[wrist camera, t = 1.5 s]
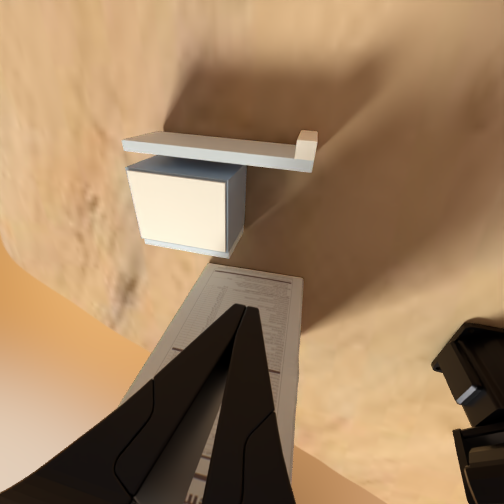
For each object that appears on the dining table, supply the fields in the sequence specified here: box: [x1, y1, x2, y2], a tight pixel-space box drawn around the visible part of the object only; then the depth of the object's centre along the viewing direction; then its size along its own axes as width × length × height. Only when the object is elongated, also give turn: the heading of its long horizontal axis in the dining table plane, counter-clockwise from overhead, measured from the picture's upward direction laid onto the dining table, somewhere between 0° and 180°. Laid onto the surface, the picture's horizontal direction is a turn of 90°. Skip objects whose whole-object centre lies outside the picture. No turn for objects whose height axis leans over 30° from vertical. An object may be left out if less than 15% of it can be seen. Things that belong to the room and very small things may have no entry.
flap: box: [122, 130, 318, 173], centre depth 15 cm, size 11×2×4 cm, turn 88°
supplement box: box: [118, 263, 304, 504], centre depth 18 cm, size 10×9×17 cm
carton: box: [125, 155, 247, 259], centre depth 18 cm, size 6×6×5 cm
